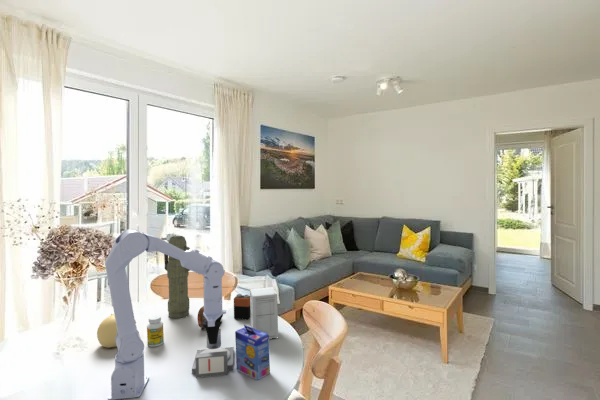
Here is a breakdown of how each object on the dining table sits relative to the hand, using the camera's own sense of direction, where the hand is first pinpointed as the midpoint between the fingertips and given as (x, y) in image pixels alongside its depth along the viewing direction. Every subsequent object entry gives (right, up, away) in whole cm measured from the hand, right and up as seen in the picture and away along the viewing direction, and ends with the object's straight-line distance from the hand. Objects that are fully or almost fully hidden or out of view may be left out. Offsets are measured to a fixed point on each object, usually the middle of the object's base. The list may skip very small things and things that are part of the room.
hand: (213, 340), depth 107 cm
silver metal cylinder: (0, -2, 0) cm, 2 cm away
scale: (0, -7, -1) cm, 7 cm away
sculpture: (-39, -7, +14) cm, 42 cm away
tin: (-10, -7, +31) cm, 33 cm away
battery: (+3, -6, +37) cm, 38 cm away
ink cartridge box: (+13, -7, -6) cm, 16 cm away
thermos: (-26, -6, +40) cm, 48 cm away
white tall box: (+14, -7, +20) cm, 25 cm away
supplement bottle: (-24, -7, +13) cm, 29 cm away
